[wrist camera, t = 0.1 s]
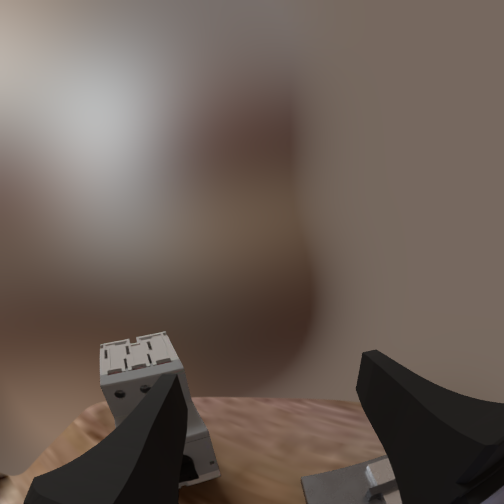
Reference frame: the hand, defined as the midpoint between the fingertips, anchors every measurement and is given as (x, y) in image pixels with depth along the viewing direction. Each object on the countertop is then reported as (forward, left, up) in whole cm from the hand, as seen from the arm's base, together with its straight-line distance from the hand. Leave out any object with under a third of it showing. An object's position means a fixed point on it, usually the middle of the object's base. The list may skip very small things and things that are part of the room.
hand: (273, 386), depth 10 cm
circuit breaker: (+11, +10, -22) cm, 26 cm away
